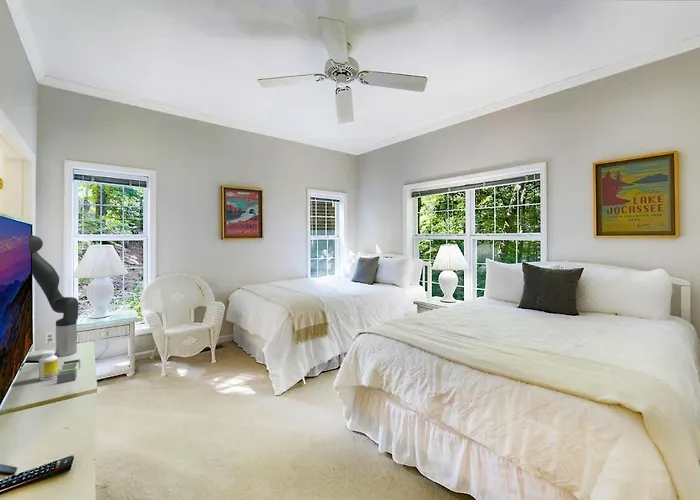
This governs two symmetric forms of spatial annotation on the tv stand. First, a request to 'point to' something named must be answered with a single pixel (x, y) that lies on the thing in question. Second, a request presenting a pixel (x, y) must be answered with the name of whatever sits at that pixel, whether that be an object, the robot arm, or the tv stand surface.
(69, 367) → the bay rack
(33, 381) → the tv stand surface
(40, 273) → the robot arm
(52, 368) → the supplement bottle
